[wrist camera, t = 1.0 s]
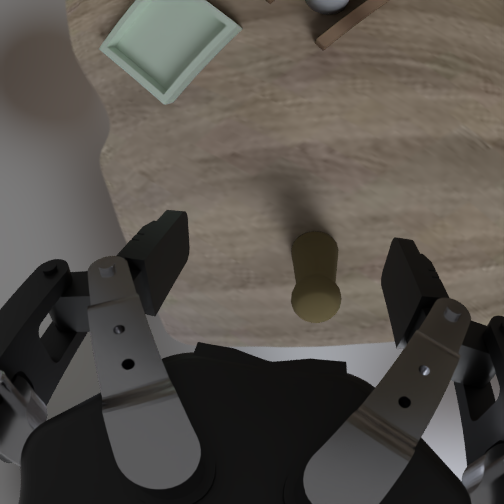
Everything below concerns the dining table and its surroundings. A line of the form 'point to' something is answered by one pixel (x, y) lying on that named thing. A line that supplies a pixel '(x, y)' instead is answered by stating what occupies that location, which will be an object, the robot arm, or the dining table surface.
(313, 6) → the cylinder
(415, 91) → the dining table surface
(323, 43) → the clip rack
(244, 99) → the dining table surface
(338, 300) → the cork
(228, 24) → the tray
